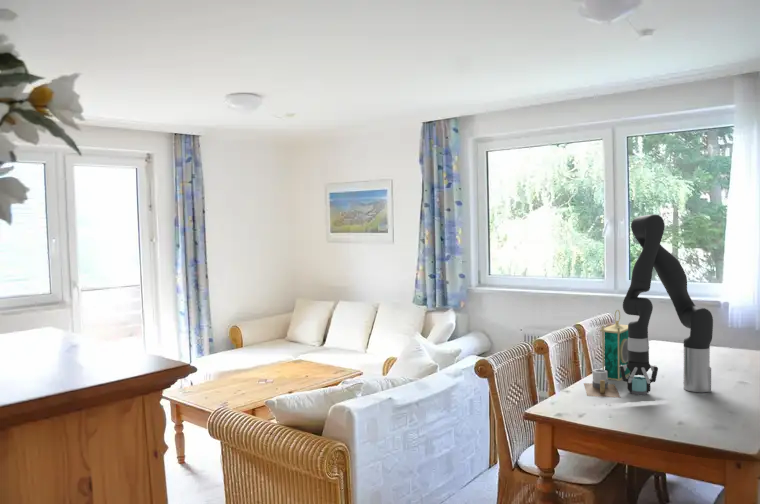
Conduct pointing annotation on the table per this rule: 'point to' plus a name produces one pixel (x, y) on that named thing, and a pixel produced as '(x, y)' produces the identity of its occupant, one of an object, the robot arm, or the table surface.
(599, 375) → the grey sleeve
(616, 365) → the carriage clock
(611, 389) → the brown peg stand
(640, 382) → the teal sleeve
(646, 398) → the table surface
